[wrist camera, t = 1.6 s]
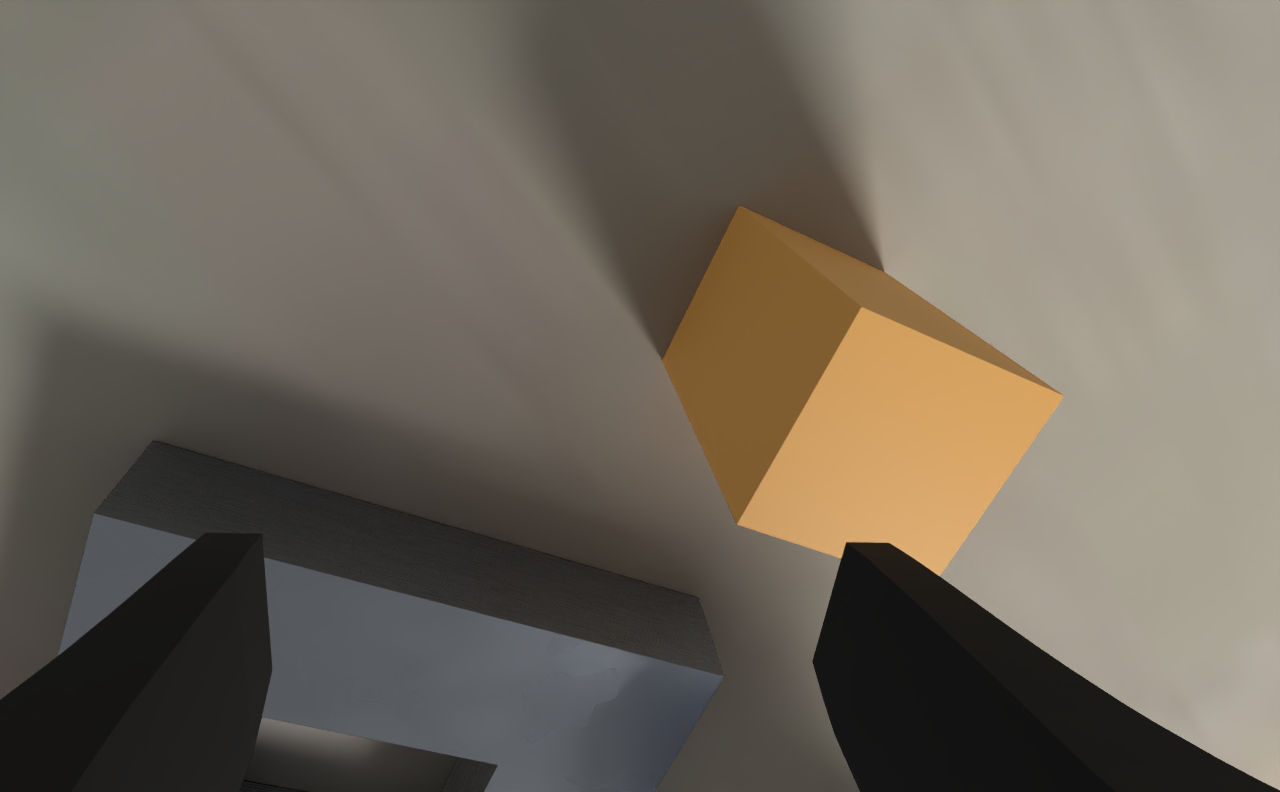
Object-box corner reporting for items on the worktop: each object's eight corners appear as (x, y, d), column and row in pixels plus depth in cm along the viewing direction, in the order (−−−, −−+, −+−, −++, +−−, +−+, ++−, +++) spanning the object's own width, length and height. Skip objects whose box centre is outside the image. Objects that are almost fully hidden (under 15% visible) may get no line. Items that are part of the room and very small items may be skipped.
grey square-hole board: (698, 597, 23) (724, 676, 20) (511, 923, 27) (512, 1023, 25) (152, 440, 19) (93, 513, 16) (39, 855, 23) (-22, 967, 20)
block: (884, 271, 20) (1063, 396, 13) (802, 414, 21) (931, 587, 15) (739, 204, 18) (861, 306, 12) (662, 360, 20) (736, 524, 13)
